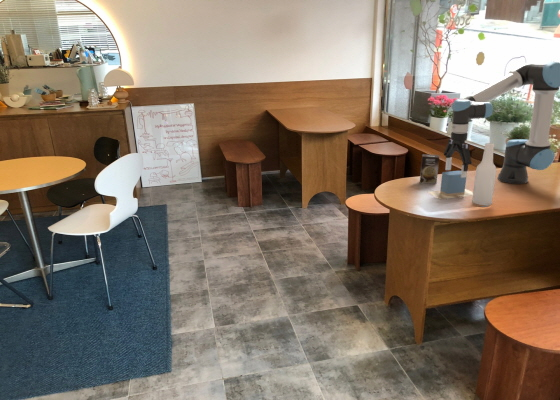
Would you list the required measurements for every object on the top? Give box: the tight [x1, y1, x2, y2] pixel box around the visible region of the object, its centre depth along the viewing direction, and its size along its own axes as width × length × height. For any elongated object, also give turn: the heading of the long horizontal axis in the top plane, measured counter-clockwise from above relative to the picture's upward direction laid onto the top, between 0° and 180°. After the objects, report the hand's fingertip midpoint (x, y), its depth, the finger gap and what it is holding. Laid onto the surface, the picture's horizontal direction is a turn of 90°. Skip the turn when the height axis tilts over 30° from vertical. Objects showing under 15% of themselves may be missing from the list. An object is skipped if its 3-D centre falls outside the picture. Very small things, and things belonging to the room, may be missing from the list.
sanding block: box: [439, 170, 467, 196], centre depth 229 cm, size 10×6×11 cm, turn 103°
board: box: [427, 187, 473, 200], centre depth 231 cm, size 22×12×1 cm, turn 103°
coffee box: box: [419, 153, 440, 184], centre depth 249 cm, size 9×6×16 cm
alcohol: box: [471, 142, 497, 208], centre depth 214 cm, size 9×9×30 cm
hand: (455, 173), depth 228 cm, fingers open, 13 cm apart
